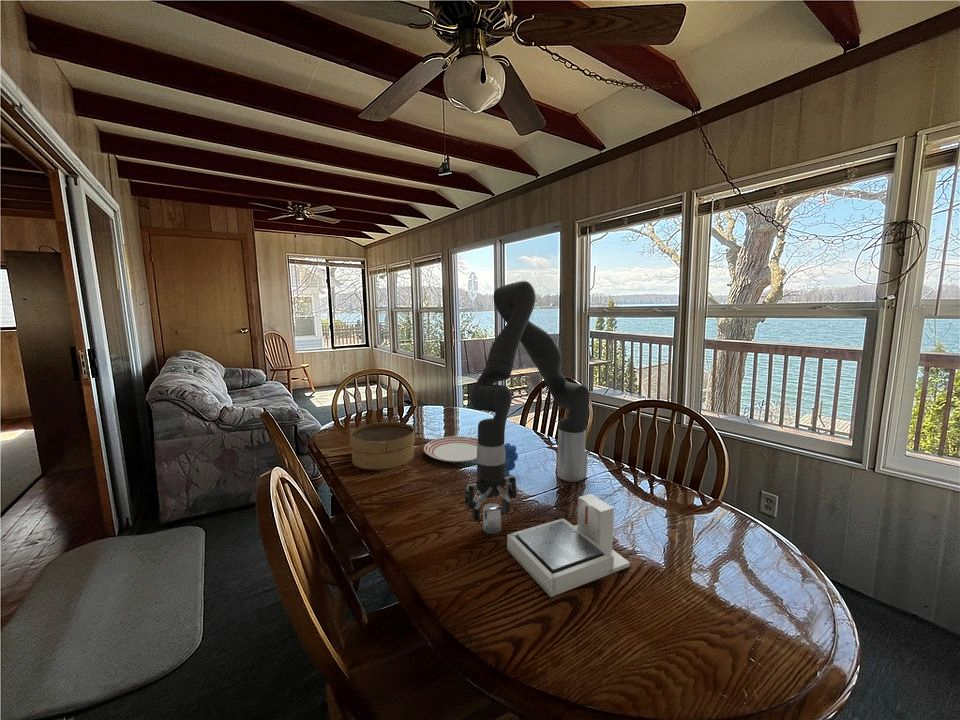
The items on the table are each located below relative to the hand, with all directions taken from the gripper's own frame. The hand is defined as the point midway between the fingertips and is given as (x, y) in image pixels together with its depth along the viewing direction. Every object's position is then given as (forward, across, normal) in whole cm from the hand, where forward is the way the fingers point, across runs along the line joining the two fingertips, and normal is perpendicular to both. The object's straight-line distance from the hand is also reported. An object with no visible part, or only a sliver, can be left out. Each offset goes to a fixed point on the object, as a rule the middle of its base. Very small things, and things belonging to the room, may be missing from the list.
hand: (490, 517), depth 107 cm
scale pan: (0, -8, +19) cm, 21 cm away
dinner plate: (+4, -13, -55) cm, 57 cm away
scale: (+3, -10, +19) cm, 22 cm away
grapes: (+3, -19, -28) cm, 34 cm away
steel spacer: (+3, 0, 0) cm, 3 cm away
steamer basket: (+4, +15, -65) cm, 67 cm away
